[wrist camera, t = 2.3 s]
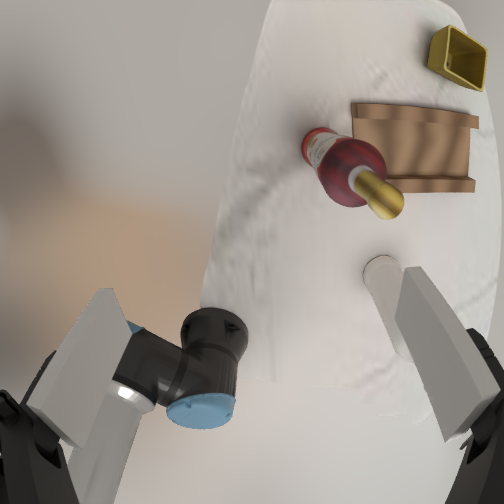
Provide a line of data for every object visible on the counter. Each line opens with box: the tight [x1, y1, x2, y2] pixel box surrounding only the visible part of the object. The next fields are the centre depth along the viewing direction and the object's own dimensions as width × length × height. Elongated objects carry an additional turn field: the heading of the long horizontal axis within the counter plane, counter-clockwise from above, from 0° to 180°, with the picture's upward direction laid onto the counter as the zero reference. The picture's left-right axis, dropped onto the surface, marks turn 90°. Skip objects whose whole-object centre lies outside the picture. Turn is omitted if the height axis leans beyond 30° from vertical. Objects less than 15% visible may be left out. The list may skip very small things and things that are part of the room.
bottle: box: [363, 256, 426, 391], centre depth 42 cm, size 8×8×30 cm
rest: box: [351, 103, 479, 193], centre depth 42 cm, size 25×15×3 cm, turn 96°
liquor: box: [302, 128, 404, 220], centre depth 32 cm, size 7×7×28 cm
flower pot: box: [427, 25, 487, 92], centre depth 31 cm, size 9×9×9 cm
